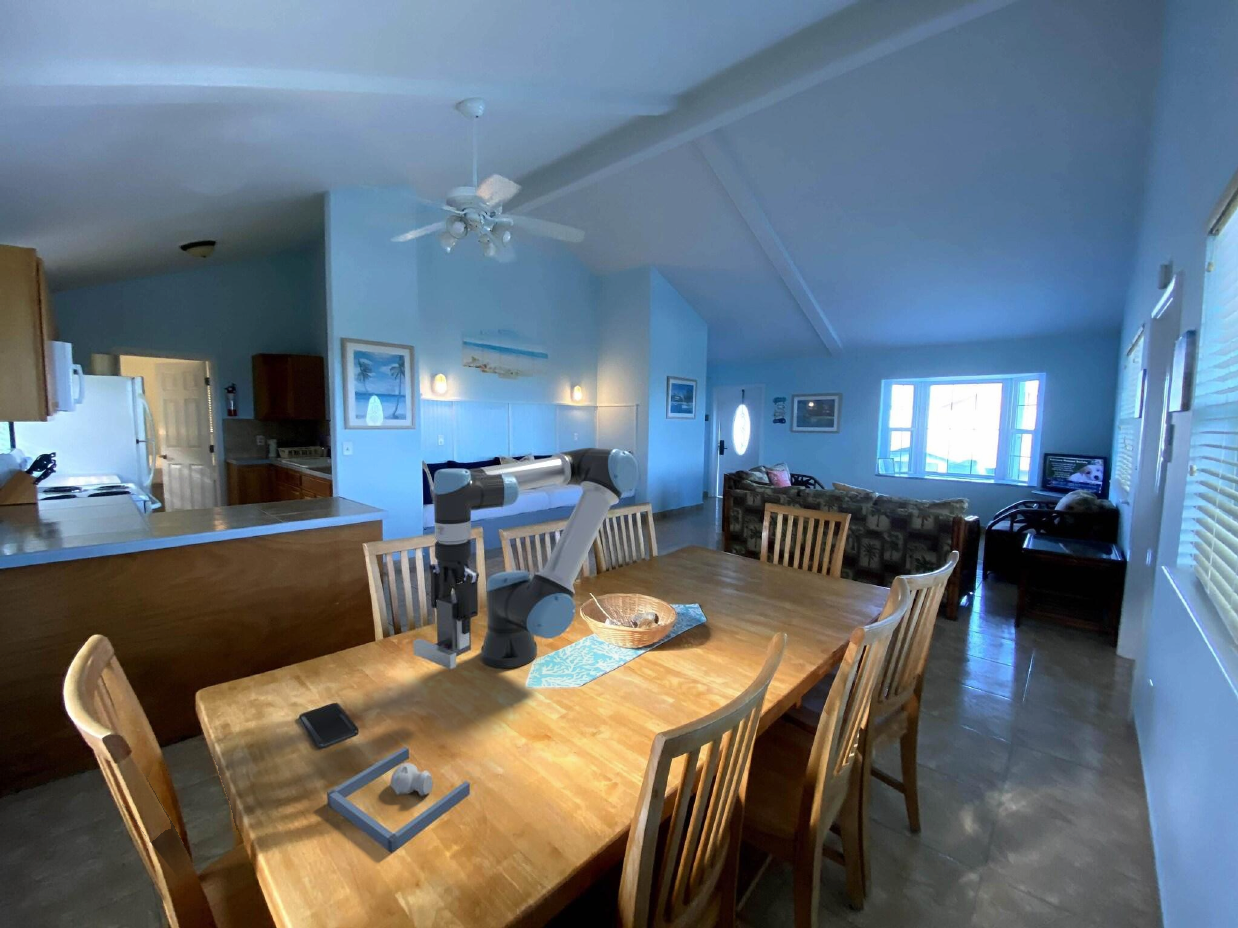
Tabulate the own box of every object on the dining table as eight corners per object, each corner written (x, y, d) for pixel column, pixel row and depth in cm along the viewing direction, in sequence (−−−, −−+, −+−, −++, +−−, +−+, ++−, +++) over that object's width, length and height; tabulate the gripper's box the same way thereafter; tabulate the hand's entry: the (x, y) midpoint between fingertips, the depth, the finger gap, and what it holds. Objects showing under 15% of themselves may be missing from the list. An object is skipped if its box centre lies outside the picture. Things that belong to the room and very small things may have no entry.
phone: (318, 746, 102) (297, 714, 113) (318, 752, 102) (297, 719, 113) (360, 730, 108) (337, 701, 118) (360, 735, 108) (337, 705, 118)
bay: (405, 756, 101) (405, 746, 101) (469, 793, 91) (469, 782, 91) (327, 803, 88) (327, 792, 88) (391, 853, 79) (391, 840, 79)
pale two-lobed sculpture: (387, 794, 93) (410, 770, 97) (417, 811, 88) (440, 786, 92) (379, 777, 91) (403, 753, 95) (409, 793, 87) (433, 768, 91)
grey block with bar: (445, 640, 121) (444, 589, 120) (481, 653, 115) (481, 600, 114) (413, 654, 114) (412, 600, 113) (450, 669, 108) (449, 612, 106)
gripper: (411, 537, 115) (413, 639, 117) (468, 550, 105) (469, 660, 108) (439, 531, 121) (441, 628, 124) (495, 542, 112) (496, 647, 114)
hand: (454, 643), depth 116 cm, fingers closed on grey block with bar, 5 cm apart
